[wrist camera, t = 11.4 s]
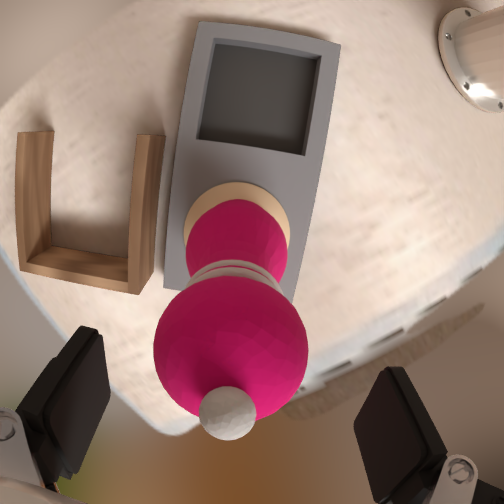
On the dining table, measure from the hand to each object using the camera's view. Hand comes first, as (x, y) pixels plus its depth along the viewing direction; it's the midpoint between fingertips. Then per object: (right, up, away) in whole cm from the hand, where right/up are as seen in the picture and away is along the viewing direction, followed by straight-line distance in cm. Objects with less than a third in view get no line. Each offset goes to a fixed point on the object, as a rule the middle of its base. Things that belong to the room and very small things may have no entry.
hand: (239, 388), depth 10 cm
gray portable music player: (0, +12, +18) cm, 21 cm away
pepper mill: (-1, +6, +18) cm, 19 cm away
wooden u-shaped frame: (-15, +9, +18) cm, 25 cm away
